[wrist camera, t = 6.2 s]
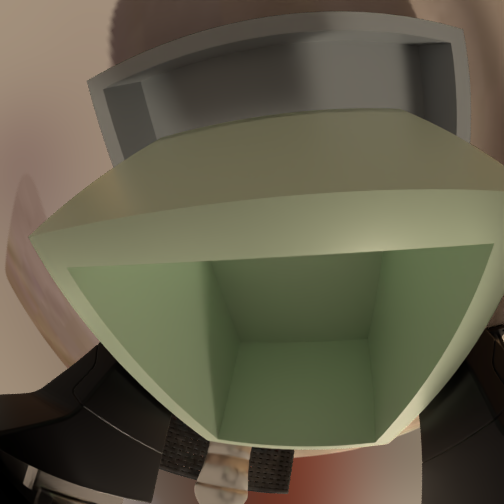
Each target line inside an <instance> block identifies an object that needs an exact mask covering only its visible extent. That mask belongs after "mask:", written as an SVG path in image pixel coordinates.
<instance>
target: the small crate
mask: <svg viewBox="0 0 504 504" xmlns="http://www.w3.org/2000/svg"><path fill="white" fill-rule="evenodd" d="M28 238H29V239H30V241H31V243H32V245H33V247H34V248H35V250H36V252H37V254H38V255H39V257H40V259H41V260H42V262H43V264H44V265H45V267H46V269H47V270H48V272H49V273H50V275H51V276H52V278H53V280H54V281H55V283H56V284H57V286H58V287H59V289H60V290H61V291H62V293H63V294H64V296H65V297H66V299H67V300H68V301H69V303H70V304H71V305H72V307H73V308H74V310H75V311H76V312H77V313H78V315H79V316H80V317H81V319H82V320H83V321H84V323H85V324H86V325H87V326H88V328H89V329H90V330H91V331H92V332H93V334H94V335H95V336H96V337H97V338H98V340H99V341H100V342H101V343H102V344H103V345H104V347H105V348H106V349H107V350H108V351H109V352H110V353H111V354H112V356H113V357H114V358H115V359H116V360H117V361H118V362H119V363H120V364H121V365H122V366H123V367H124V368H125V369H126V370H127V371H128V372H129V373H130V374H131V375H132V376H133V377H134V378H135V379H136V380H137V381H138V382H139V383H140V384H141V385H142V386H143V387H144V388H145V389H146V390H147V391H148V392H149V393H150V394H151V395H152V396H153V397H155V398H156V399H157V400H158V401H159V402H160V403H161V404H162V405H164V406H165V407H166V408H167V409H168V410H169V411H171V412H172V413H173V414H174V415H175V416H176V417H178V418H179V419H180V420H181V421H183V422H184V423H185V424H186V425H188V426H189V427H190V428H192V429H193V430H194V431H195V432H197V433H198V434H199V435H201V436H202V437H203V438H205V439H206V440H208V441H213V442H219V443H226V444H233V445H240V446H249V447H259V448H273V449H295V450H322V449H344V448H357V447H367V446H375V445H383V444H388V443H390V441H392V440H393V439H394V438H395V437H396V436H397V435H398V434H399V433H401V432H402V431H403V430H404V429H405V428H406V427H407V426H408V425H409V424H410V423H411V422H412V421H413V420H414V419H415V418H416V417H417V416H418V415H419V414H420V413H421V412H422V411H423V410H424V408H425V407H426V406H427V405H428V404H429V403H430V402H431V401H432V400H433V399H434V397H435V396H436V395H437V394H438V393H439V392H440V390H441V389H442V388H443V387H444V386H445V384H446V383H447V382H448V381H449V379H450V378H451V377H452V376H453V374H454V373H455V372H456V370H457V369H458V368H459V366H460V365H461V364H462V362H463V361H464V360H465V358H466V357H467V355H468V354H469V352H470V351H471V349H472V348H473V346H474V345H475V343H476V342H477V340H478V339H479V337H480V336H481V334H482V332H483V331H484V329H485V328H486V326H487V324H488V322H489V321H490V319H491V317H492V315H493V314H494V312H495V310H496V308H497V306H498V304H499V302H500V301H501V299H502V297H503V295H504V165H502V164H501V163H499V162H498V161H497V160H495V159H494V158H492V157H491V156H489V155H488V154H486V153H484V152H483V151H481V150H480V149H478V148H477V147H475V146H473V145H472V144H470V143H468V142H467V141H465V140H463V139H461V138H460V137H458V136H456V135H454V134H452V133H450V132H449V131H447V130H445V129H443V128H441V127H439V126H437V125H435V124H433V123H431V122H429V121H427V120H425V119H422V118H420V117H418V116H416V115H414V114H411V113H409V112H407V111H404V110H402V109H388V108H351V109H328V110H313V111H301V112H291V113H282V114H274V115H267V116H260V117H253V118H247V119H241V120H236V121H230V122H225V123H220V124H215V125H210V126H206V127H201V128H197V129H192V130H188V131H184V132H180V133H176V134H173V135H169V136H165V137H162V138H160V139H158V140H156V141H155V142H153V143H151V144H150V145H148V146H146V147H145V148H143V149H141V150H140V151H138V152H137V153H135V154H133V155H132V156H130V157H129V158H127V159H126V160H124V161H123V162H121V163H120V164H118V165H117V166H115V167H114V168H112V169H111V170H109V171H108V172H107V173H105V174H104V175H102V176H101V177H100V178H98V179H97V180H95V181H94V182H93V183H91V184H90V185H89V186H87V187H86V188H85V189H83V190H82V191H81V192H80V193H78V194H77V195H76V196H74V197H73V198H72V199H71V200H69V201H68V202H67V203H66V204H65V205H63V206H62V207H61V208H60V209H59V210H57V211H56V212H55V213H54V214H53V215H52V216H50V217H49V218H48V219H47V220H46V221H45V222H44V223H43V224H41V225H40V226H39V227H38V228H37V229H36V230H35V231H34V232H33V233H32V234H31V235H30V236H29V237H28Z"/></svg>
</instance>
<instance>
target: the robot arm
mask: <svg viewBox="0 0 504 504" xmlns="http://www.w3.org/2000/svg"><path fill="white" fill-rule="evenodd" d="M503 334H504V325H501V326H498V327H494V328H490V329H484V331H483V332H482V334H481V336H480V337H479V339H478V340H477V342H476V343H475V345H474V346H473V348H472V349H471V351H470V352H469V354H468V355H467V357H466V358H465V360H464V361H463V362H462V364H461V365H460V366H459V368H458V369H457V370H456V372H455V373H454V374H453V376H452V377H451V378H450V379H449V381H448V382H447V383H446V384H445V386H444V387H443V388H442V389H441V390H440V392H439V393H438V394H437V395H436V396H435V397H434V399H433V400H432V401H431V402H430V403H429V404H428V405H427V406H426V407H425V408H424V410H423V411H422V412H421V413H420V414H419V419H420V429H421V443H422V462H423V463H422V504H504V342H503V339H502V336H503ZM171 416H172V412H171V411H169V410H168V409H167V408H166V407H165V406H164V405H162V404H161V403H160V402H159V401H158V400H157V399H156V398H155V397H153V396H152V395H151V394H150V393H149V392H148V391H147V390H146V389H145V388H144V387H143V386H142V385H141V384H140V383H139V382H138V381H137V380H136V379H135V378H134V377H133V376H132V375H131V374H130V373H129V372H128V371H127V370H126V369H125V368H124V367H123V366H122V365H121V364H120V363H119V362H118V361H117V360H116V359H115V358H114V357H113V356H112V354H111V353H110V352H109V351H108V350H107V349H106V348H105V347H104V345H103V344H102V343H101V342H100V343H99V344H98V345H96V346H95V347H94V348H93V349H92V350H90V351H89V352H88V353H87V354H86V355H84V356H83V357H82V358H81V359H80V360H78V361H77V362H76V363H75V364H73V365H72V366H71V367H69V368H68V369H67V370H66V371H64V372H63V373H62V374H60V375H59V376H57V377H56V378H55V379H54V380H52V381H51V382H50V383H48V384H47V385H46V386H44V387H43V388H41V389H39V390H37V391H35V392H31V393H23V394H3V395H0V504H122V502H123V499H124V498H126V499H131V500H136V501H142V502H148V503H151V502H152V498H153V494H154V489H155V484H156V480H157V475H158V471H159V466H160V462H161V458H162V453H163V448H164V444H165V440H166V436H167V432H168V428H169V424H170V420H171Z"/></svg>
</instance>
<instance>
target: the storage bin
mask: <svg viewBox="0 0 504 504" xmlns="http://www.w3.org/2000/svg"><path fill="white" fill-rule="evenodd" d="M197 440H198V441H197ZM209 444H210V441H208V440H206V439H205V438H203V437H202V436H201V435H199V434H198V433H197V432H195V431H194V430H193V429H192V428H190V427H189V426H188V425H186V424H185V423H184V422H183V421H181V420H180V419H179V418H178V417H176V416H175V415H174V414H173V413H172V416H171V420H170V424H169V428H168V432H167V436H166V440H165V444H164V448H163V453H162V458H161V462H160V466H159V469H161V470H164V471H168V472H170V473H174V474H177V475H180V476H184V477H187V478H191V479H195V480H197V479H198V477H199V474H200V472H201V469H202V467H203V465H204V461H205V458H206V455H207V453H208V452H207V451H208V448H209ZM186 452H189V453H186ZM193 454H194V455H193ZM186 456H187V457H186ZM202 456H203V457H202ZM293 457H294V449H273V448H259V447H252V448H251V452H250V459H249V469H248V480H249V481H248V491H255V492H264V493H283V494H288V489H289V483H290V476H291V471H292V463H293ZM177 464H178V465H177ZM183 466H185V467H183ZM250 466H252V467H250ZM189 467H190V468H189ZM198 470H200V471H198ZM254 481H255V482H254Z"/></svg>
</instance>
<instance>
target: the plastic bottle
mask: <svg viewBox="0 0 504 504" xmlns="http://www.w3.org/2000/svg"><path fill="white" fill-rule="evenodd" d="M251 448H252V447H249V446H240V445H233V444H226V443H219V442H213V441H210V444H209V448H208V451H207V452H208V453H207V455H206V458H205V461H204V465H203V467H202V469H201V472H200V474H199V477H198V479H197V482H196V484H195V487H194V490H195V495H196V498H197V500H198V502H199V504H244V502H245V501H246V499H247V496H248V492H247V490H248V469H249V459H250V452H251Z"/></svg>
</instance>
